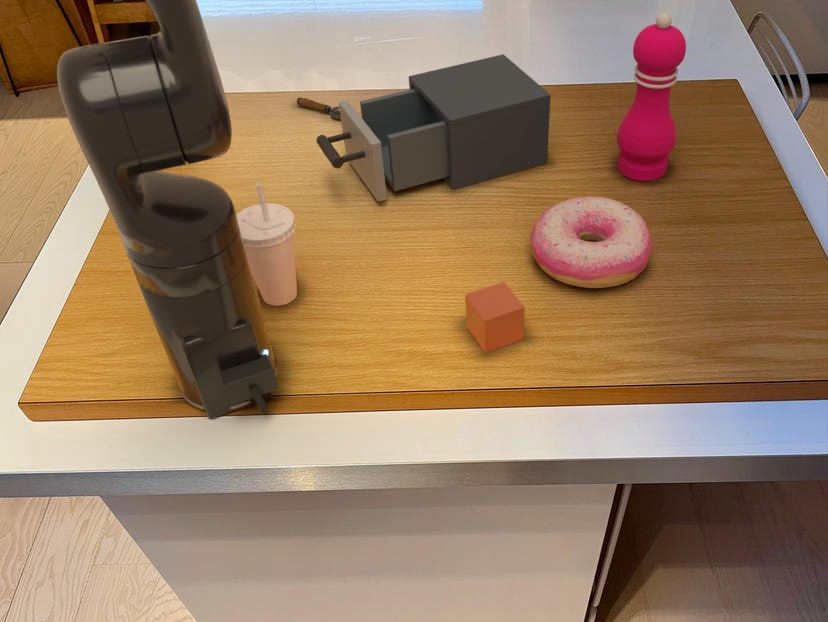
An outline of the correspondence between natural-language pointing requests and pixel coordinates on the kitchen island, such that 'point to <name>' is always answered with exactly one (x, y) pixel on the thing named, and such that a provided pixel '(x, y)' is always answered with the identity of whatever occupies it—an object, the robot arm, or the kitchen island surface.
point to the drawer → (392, 142)
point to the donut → (591, 261)
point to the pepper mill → (651, 102)
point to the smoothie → (270, 249)
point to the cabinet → (488, 118)
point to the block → (494, 317)
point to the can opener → (319, 107)
